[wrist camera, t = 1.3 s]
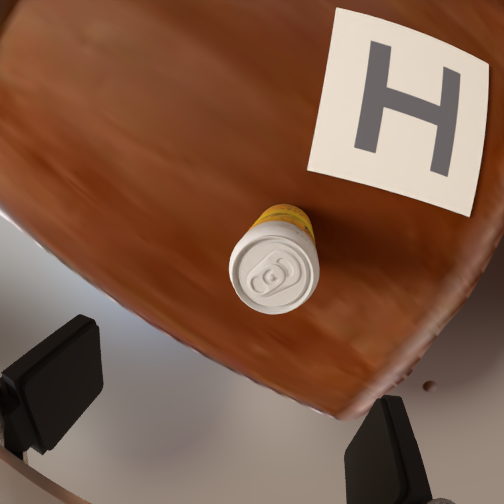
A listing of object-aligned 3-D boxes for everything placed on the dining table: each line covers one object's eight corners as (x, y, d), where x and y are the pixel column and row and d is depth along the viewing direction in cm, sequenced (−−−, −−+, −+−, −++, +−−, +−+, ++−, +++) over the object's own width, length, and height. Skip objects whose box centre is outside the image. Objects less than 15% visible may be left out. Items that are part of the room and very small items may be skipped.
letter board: (335, 10, 26) (336, 7, 26) (485, 65, 25) (488, 64, 24) (307, 170, 32) (307, 170, 31) (466, 215, 30) (469, 217, 29)
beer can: (323, 237, 34) (338, 288, 19) (278, 268, 35) (262, 334, 21) (290, 192, 33) (283, 209, 19) (245, 224, 35) (207, 265, 20)
